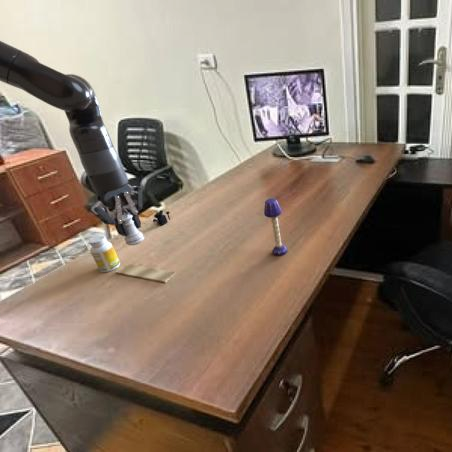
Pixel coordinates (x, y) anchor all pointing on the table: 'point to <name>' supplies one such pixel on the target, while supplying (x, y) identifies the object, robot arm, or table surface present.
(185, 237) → the table surface
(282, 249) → the toy lamp
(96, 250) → the supplement bottle
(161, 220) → the wireless earbuds
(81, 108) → the robot arm
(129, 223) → the rook chess piece
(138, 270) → the strip
